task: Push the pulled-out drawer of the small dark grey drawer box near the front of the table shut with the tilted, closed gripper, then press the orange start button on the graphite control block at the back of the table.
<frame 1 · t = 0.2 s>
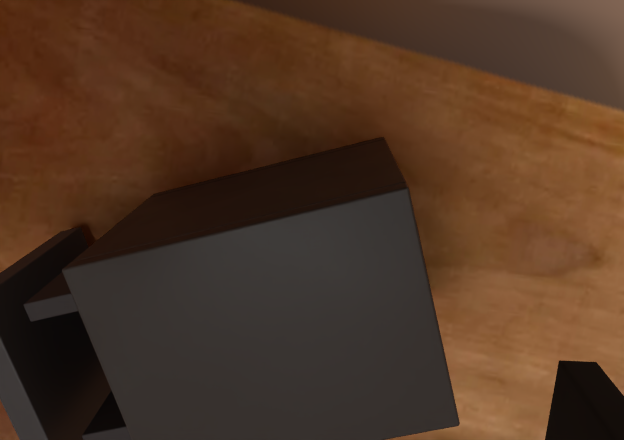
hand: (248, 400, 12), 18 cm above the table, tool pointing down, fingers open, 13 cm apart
pulled-out drawer: (150, 319, 27), point 5 cm above the table, slide at 4.0 cm
dark grey drawer box: (289, 249, 31), on the table
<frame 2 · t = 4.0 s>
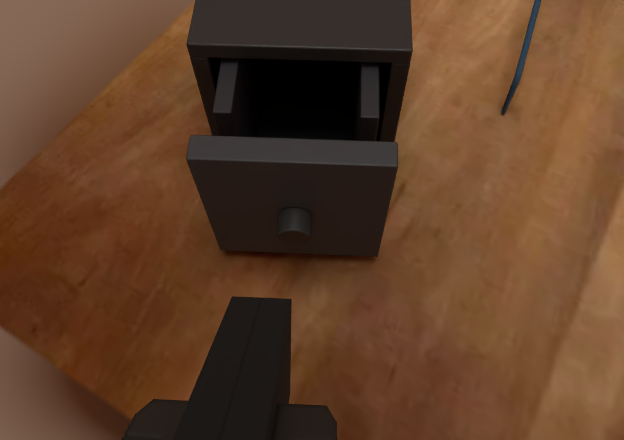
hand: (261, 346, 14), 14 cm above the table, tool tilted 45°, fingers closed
pulled-out drawer: (301, 125, 29), point 5 cm above the table, slide at 4.0 cm
dark grey drawer box: (310, 95, 36), on the table
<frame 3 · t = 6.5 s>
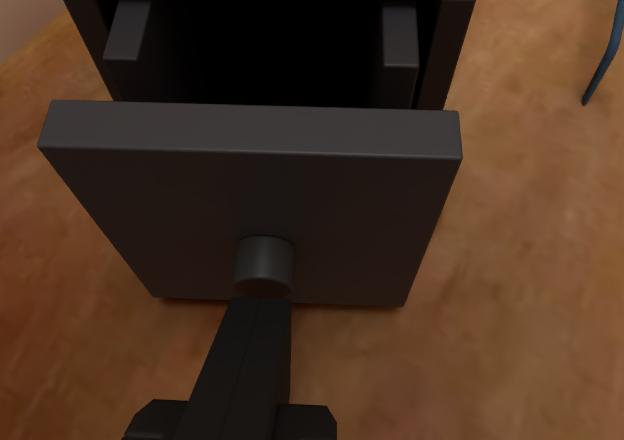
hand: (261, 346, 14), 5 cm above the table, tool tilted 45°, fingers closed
pulled-out drawer: (279, 94, 17), point 5 cm above the table, slide at 3.0 cm, touching gripper
dark grey drawer box: (296, 77, 24), on the table
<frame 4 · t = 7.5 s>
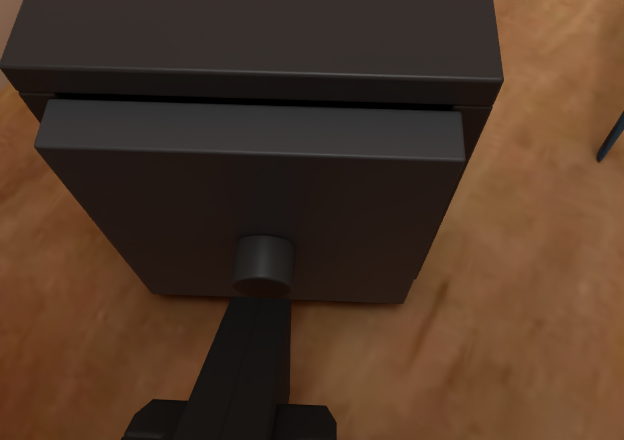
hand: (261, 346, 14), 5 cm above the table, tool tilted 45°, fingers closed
pulled-out drawer: (279, 90, 17), point 5 cm above the table, slide at 0.0 cm, touching dark grey drawer box, gripper
dark grey drawer box: (291, 129, 23), on the table
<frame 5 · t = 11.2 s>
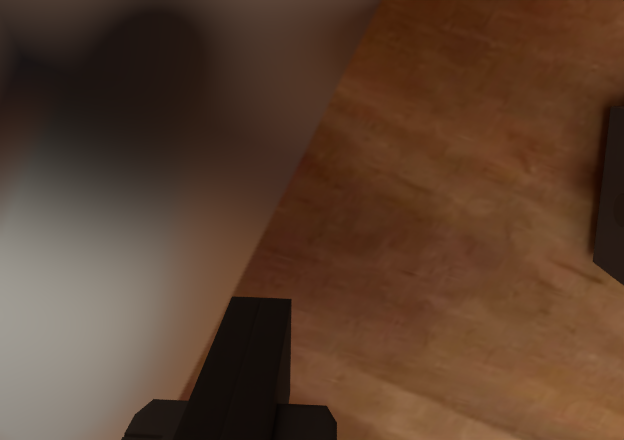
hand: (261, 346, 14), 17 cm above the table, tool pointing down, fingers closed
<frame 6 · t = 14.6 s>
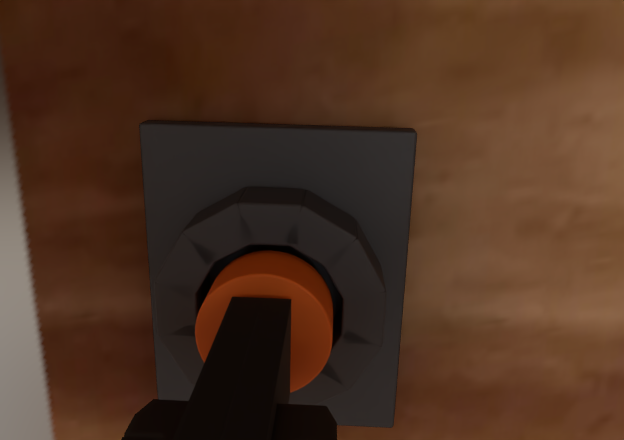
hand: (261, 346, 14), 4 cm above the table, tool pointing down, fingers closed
start button: (267, 322, 15), point 3 cm above the table, slide at 0.1 cm, touching gripper
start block: (278, 278, 18), on the table
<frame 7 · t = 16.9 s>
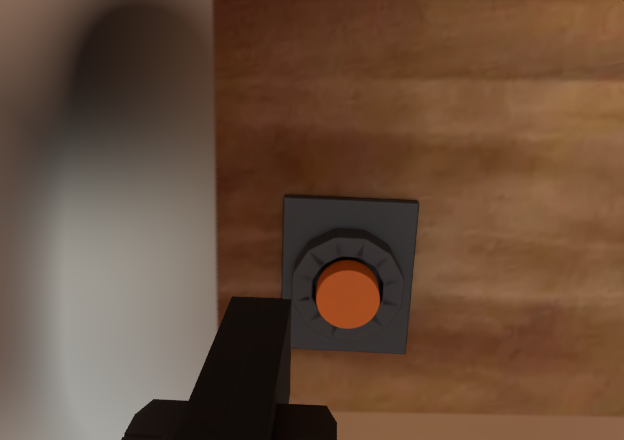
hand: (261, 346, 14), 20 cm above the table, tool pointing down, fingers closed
start button: (347, 293, 33), point 3 cm above the table, slide at 0.1 cm
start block: (346, 274, 35), on the table
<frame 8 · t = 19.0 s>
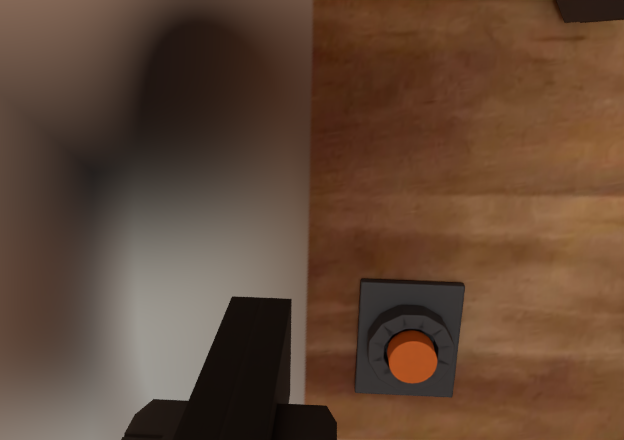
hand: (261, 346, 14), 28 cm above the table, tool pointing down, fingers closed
start button: (411, 356, 43), point 3 cm above the table, slide at 0.1 cm
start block: (407, 337, 46), on the table
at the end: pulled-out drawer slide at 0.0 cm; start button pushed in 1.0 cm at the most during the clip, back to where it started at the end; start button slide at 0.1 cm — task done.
